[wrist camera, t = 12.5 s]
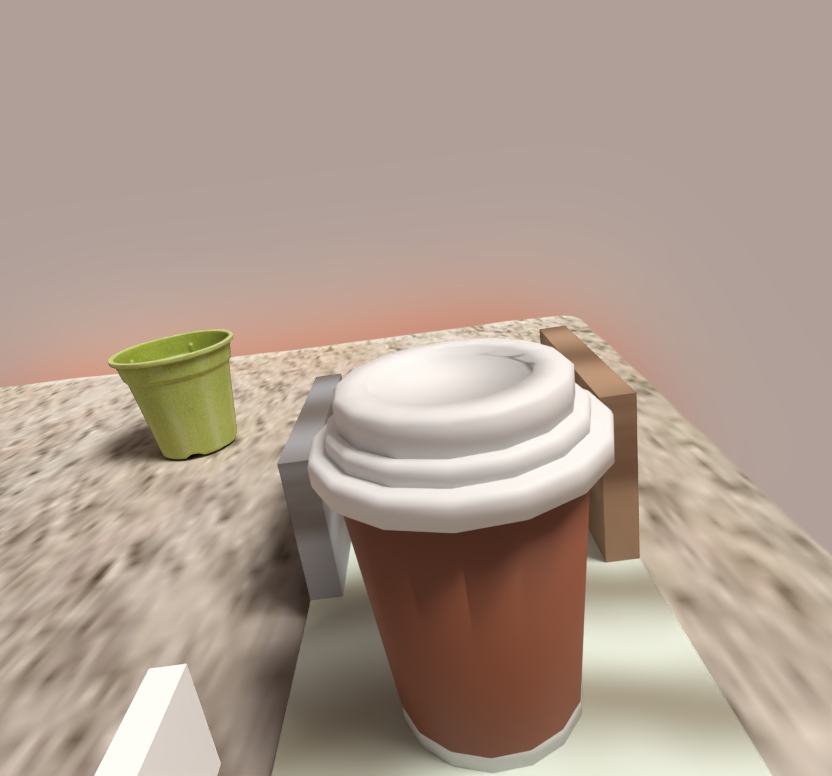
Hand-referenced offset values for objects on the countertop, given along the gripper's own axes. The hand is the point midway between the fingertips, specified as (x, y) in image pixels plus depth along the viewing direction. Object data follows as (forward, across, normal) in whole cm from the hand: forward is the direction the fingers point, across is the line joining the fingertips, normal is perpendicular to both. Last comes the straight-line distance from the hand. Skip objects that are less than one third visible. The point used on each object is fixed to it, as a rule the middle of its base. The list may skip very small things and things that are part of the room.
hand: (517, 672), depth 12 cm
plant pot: (+37, -21, -9) cm, 43 cm away
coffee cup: (+7, 0, -8) cm, 11 cm away
